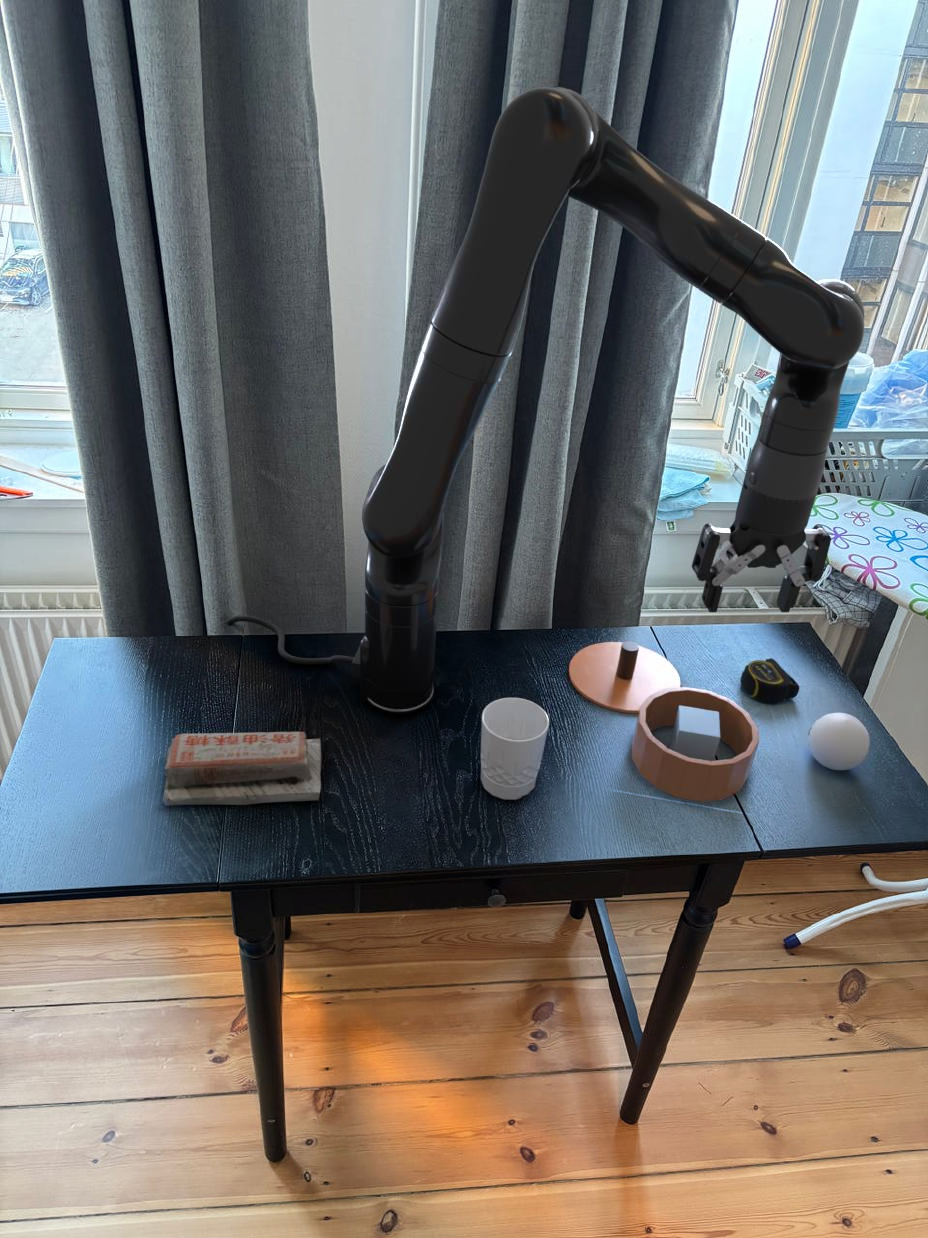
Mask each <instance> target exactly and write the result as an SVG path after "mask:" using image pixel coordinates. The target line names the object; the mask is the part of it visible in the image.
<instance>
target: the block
mask: <svg viewBox="0 0 928 1238" xmlns="http://www.w3.org/2000/svg"><path fill="white" fill-rule="evenodd" d="M720 740H721V739H720V721H719V712H717V711H711V710H705V709H698V708H692V707H686V706H680V705H679V708H678V712H677V716H676V720H675V724H674V726H673V728H672V733H671V736H670V740H669V749H670V750H673V751H675V752H677V753H679V754H682V755H684V756H686V757H689V758H695V759H700V760H706V761H715V758H716V756H717V755H716V754H717V751H718V749H719V744H720Z"/></svg>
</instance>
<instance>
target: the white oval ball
mask: <svg viewBox="0 0 928 1238" xmlns="http://www.w3.org/2000/svg"><path fill="white" fill-rule="evenodd" d="M812 710H813V712H815V713H816V714H817V715H819V717H820V718H818V719H817V720H815V722H814V723H813V725H812V726H811V727H810V728H809V730H808V742H807V743H808V747H809V750H810V753H811V756H812V757H813V758H814V759H815V761H817V762H818V763H819V764H820V765H821V766H823V767H825V768H826V769H829V770H832V771H847V770H851V769H853V768H855V767H857V766H858V765H860V764H861V763H863V761H864V760H865V758H866V757H867V755H868V754H869V751H870V745H871V741H870V734H869V732H868V730H867V728H866V726H865V725H864V724H863V723H862V722H861V721H860V720H859V719H858V718H856V717H855V716H854V715H851V714H848V713H844V712H832V713H826V714H825V715H823V716H822V715H821V714H819V713H818V711H816V710H815V709H814V708H812Z"/></svg>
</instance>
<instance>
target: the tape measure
mask: <svg viewBox="0 0 928 1238" xmlns="http://www.w3.org/2000/svg"><path fill="white" fill-rule="evenodd" d="M740 686H741V689H742V690H743V691H744V693H746V695H748V697H750V698H752V699H753V700H755V701H758V702H760V703H763V704H772V705H773V704H778V703H782V702H783V701H786V700H792V699H794V698H796V697H797V696H798V694H799V692H800V685H799V683H798V682H797V681H796V680H795V679H794V678H793V677H792V676H791V675H789V673H788V672H786V670H784V668H783V667H782V666H781V665H780V664H779V663H778V662H777V660H776V659H774V658H773V657H771V658H767V659H765V660H762V659H759V660H758V659H757V660H753V661H750V662H749V663H748V664H746V665H745V666H744V669H743V671H742V673H741V675H740Z"/></svg>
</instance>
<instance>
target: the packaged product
mask: <svg viewBox="0 0 928 1238" xmlns="http://www.w3.org/2000/svg"><path fill="white" fill-rule="evenodd" d="M321 746H322V744H321V738H312V739H309V738H308V739H307V735H306V732H305V731H269V732H268V731H267V732H265V731H263V732H262V731H261V732H260V731H258V732H257V731H256V732H213V733H200V732H199V733H188V732H187V733H179V734H176V735H175V736H174V738H173V739H172V740H171V743H170V746H169V747H168V748H167V754H166V761H165V762H166V764H165V767H164V776H165V785H164V791H163V797H162V801H163V803H164V806H166V807H168V806H169V807H171V806H189V805H190V806H191V805H221V806H222V805H223V806H224V805H225V806H226V805H228V806H229V805H230V806H246V805H256V804H265V803H288V802H307V801H310V802H311V801H319V800H320V794H321V789H322V782H321V771H322V747H321Z"/></svg>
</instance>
